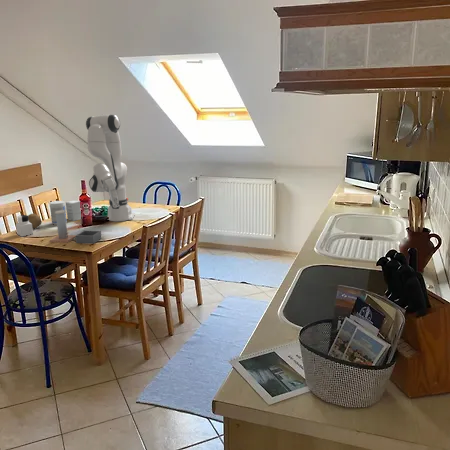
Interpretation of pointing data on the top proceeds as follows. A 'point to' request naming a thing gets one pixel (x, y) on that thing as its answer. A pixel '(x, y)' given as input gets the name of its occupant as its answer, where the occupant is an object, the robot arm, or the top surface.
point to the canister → (61, 224)
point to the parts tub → (88, 237)
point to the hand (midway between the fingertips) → (117, 201)
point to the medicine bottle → (24, 226)
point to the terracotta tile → (66, 240)
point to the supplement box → (73, 210)
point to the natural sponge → (34, 220)
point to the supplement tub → (56, 207)
